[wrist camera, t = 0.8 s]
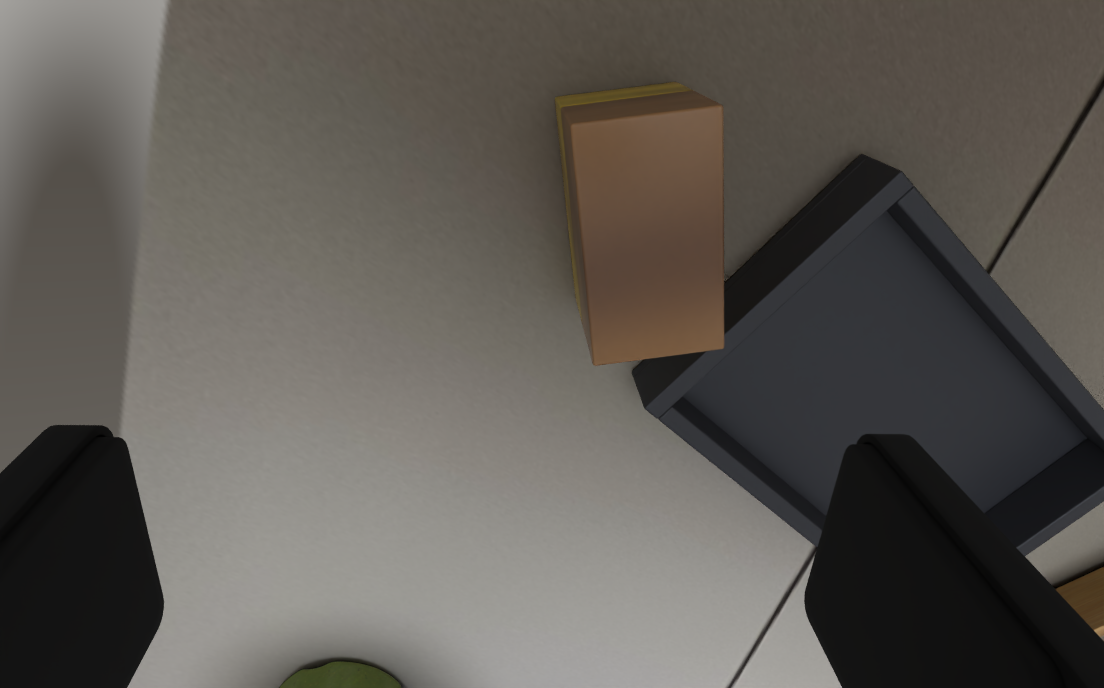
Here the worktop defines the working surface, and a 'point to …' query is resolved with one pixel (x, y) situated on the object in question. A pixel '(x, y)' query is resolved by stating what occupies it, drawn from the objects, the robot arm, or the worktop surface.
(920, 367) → the tray
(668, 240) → the scrub brush
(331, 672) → the plant pot
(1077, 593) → the soap dish
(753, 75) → the worktop surface
